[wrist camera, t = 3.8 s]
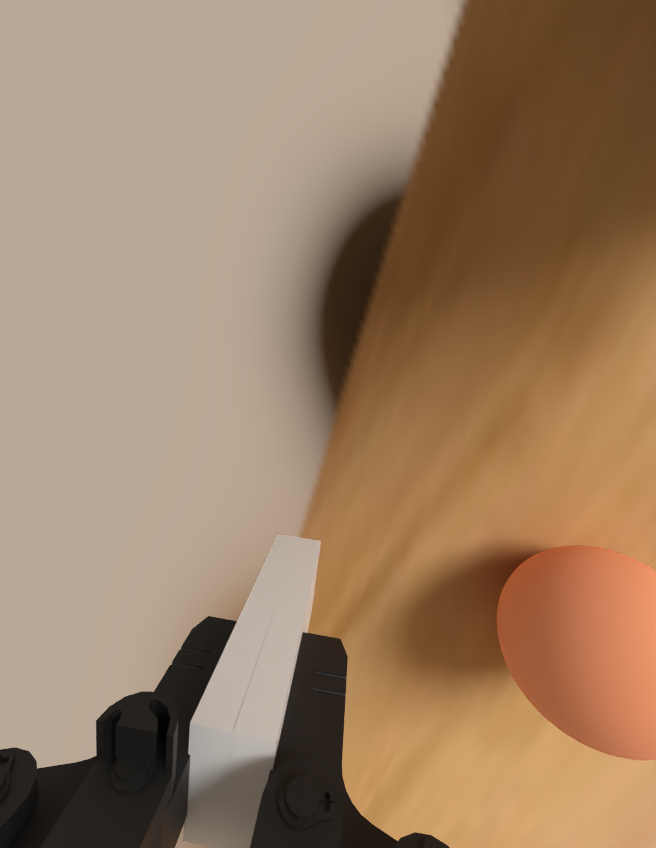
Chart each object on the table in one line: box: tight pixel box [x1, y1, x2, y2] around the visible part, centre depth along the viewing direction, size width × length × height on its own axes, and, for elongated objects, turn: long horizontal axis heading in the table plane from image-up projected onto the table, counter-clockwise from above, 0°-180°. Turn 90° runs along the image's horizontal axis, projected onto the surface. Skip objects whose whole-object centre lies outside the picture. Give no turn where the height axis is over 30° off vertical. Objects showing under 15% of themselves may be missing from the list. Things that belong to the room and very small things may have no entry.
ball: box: [497, 545, 656, 760], centre depth 11 cm, size 6×6×6 cm
